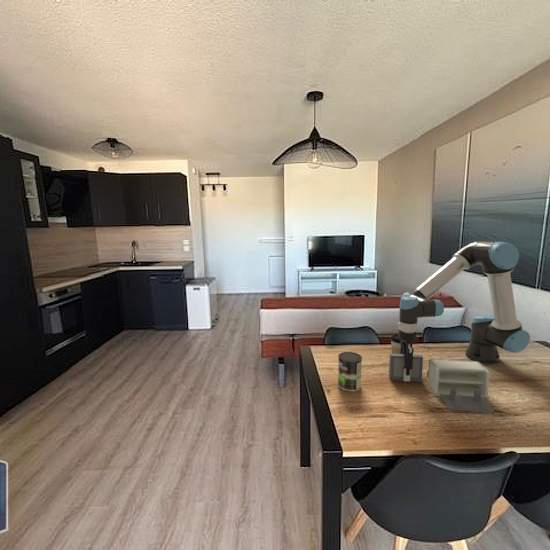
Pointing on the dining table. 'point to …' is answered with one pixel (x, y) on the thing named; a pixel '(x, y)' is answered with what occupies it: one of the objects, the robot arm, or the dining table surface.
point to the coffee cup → (395, 344)
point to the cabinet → (460, 384)
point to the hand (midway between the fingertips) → (405, 377)
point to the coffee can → (349, 371)
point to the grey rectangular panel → (399, 362)
